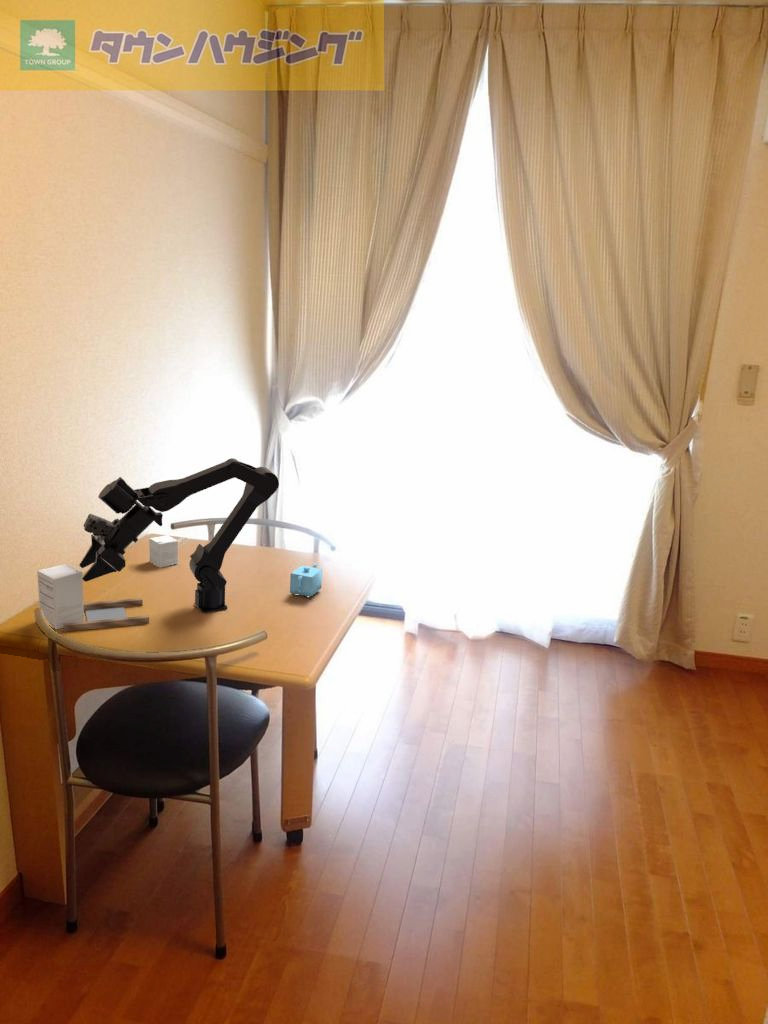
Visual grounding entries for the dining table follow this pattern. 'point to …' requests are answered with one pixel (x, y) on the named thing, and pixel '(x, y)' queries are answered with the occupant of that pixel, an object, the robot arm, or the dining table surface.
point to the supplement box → (61, 595)
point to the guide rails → (107, 615)
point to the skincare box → (163, 551)
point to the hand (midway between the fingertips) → (82, 573)
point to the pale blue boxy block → (306, 580)
